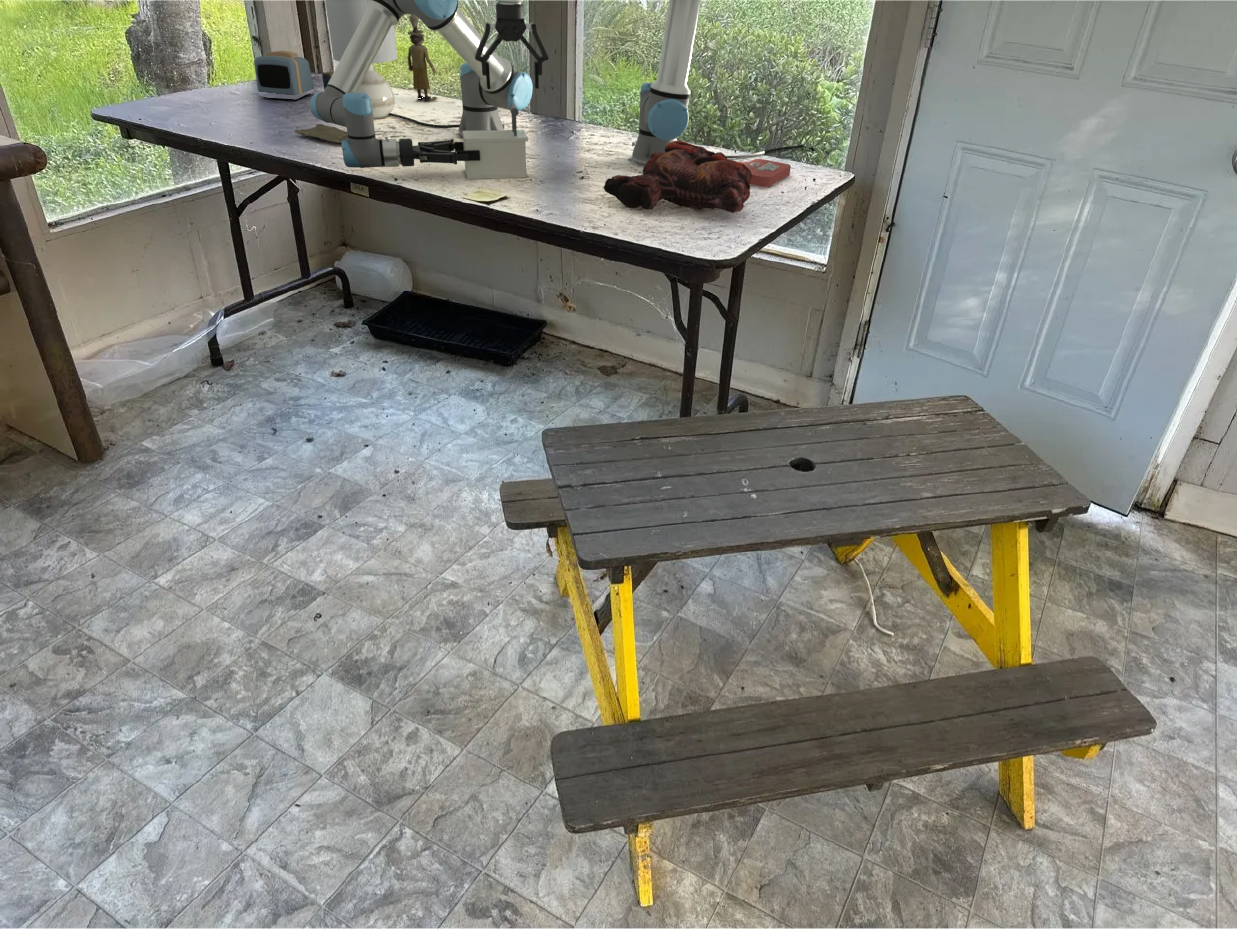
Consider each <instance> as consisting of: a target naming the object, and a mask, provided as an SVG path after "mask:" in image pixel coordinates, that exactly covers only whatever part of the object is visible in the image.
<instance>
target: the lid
mask: <svg viewBox="0 0 1237 929" xmlns="http://www.w3.org/2000/svg"><path fill="white" fill-rule="evenodd" d="M508 110H509V113H510V114H511V129H504V130H483V131H463V137H464V140H465V143H468V142H518V141H525V142H529V137H528V135H527V133H526V131H525V129H517V116H519V113H520V111H518V109H517V107H516V106H515V105H514V104H511V105H510V106H509V109H508Z"/></svg>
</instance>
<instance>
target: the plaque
mask: <svg viewBox="0 0 1237 929" xmlns="http://www.w3.org/2000/svg"><path fill="white" fill-rule="evenodd" d="M739 162H740V163H742V164H744V165H745V166H746V167H747V168H749V169H750V171H751V173H752V178H751V180H750V186H751V185H752V186H755V187H762V188H769V187H772V186H773V185H775V184H777V183H779V182H780V181H782V180H784V179H786V178H788V177H789V176H790V175H791V168H792V165H791V164H789V163H786V162H781V161H775V160H769V159H763V158H754V159H752V160H749V161H739Z"/></svg>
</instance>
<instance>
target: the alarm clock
mask: <svg viewBox="0 0 1237 929" xmlns="http://www.w3.org/2000/svg"><path fill="white" fill-rule="evenodd" d="M253 65H254V72H255V77H256V78H255V79H256V86H257V92H258V91H259V92H267V93H276V94H285V95H299V94H302V93H304V92H307V91H309V90H311V89H314V90H315V85H314V81H313V76H312V72H311V67H310V62H309V60H307V59H306V58H305V57H302V56H299V55H298V53H296V52H293V51H289V50H275V51H269V52H266V55H261V56H257V57H256V58H254V60H253Z"/></svg>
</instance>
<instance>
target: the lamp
mask: <svg viewBox="0 0 1237 929" xmlns="http://www.w3.org/2000/svg"><path fill="white" fill-rule="evenodd" d="M366 2H367V0H324V3H325V9H326V18H327V23H328V30H329V37H330V45H331V51H332V58H333V60H334V61H336V62H340V60H341V58H342V56H343V54H344V52H345V50H346V48H347V46H348V45H349V43H350V41H351V39H352V37H353V35H354V33H355V31H356V29H357V27H358V25H359V24H360V22H361V20H362V18H363V16H364V14H365V12H366V10H367V5H366ZM397 59H398V50H397V40H396V31H395V25H393V26H391V28H390V30H389V32H388V34H387V35H386V37H385V39H384V41H383V43H382V45H381V47H380V49H379V51H378V52H377V54H376V56H375V58H374V60H373V62H372V64H371V66H370V68H369V69H368V71H367V73H366V75H365V77H364V79H363V81H362V83H361V85H360V86H359V88H358V90H357V92H358V93H365V94H368V95H369V97H370V99H371V105H372V108H373V119H374V120H375V119H382V118H385V117H387V116H389V115H388V114H389V113H392V111H393V110H394V107H395V103H396V102H395V95H394V91H393V89H392V87H391V85H390V83H389V82H388V81H387V80H386V79H385V78H384V77H383V75H381V74H380V73H379V72H378V71H376V70H375V68H374V67H373V64H382V63H390V62H393V61H396V60H397Z"/></svg>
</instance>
